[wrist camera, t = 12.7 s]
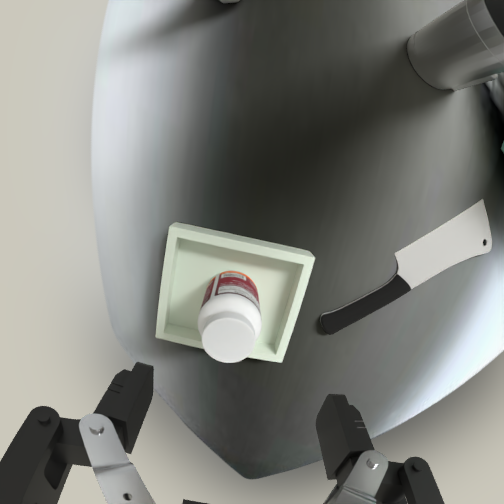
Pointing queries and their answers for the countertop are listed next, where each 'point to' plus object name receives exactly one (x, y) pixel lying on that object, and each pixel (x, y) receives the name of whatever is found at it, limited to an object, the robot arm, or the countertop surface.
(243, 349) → the pill bottle
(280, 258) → the collection tray
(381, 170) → the countertop surface
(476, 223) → the kitchen cleaver
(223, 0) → the salt shaker
